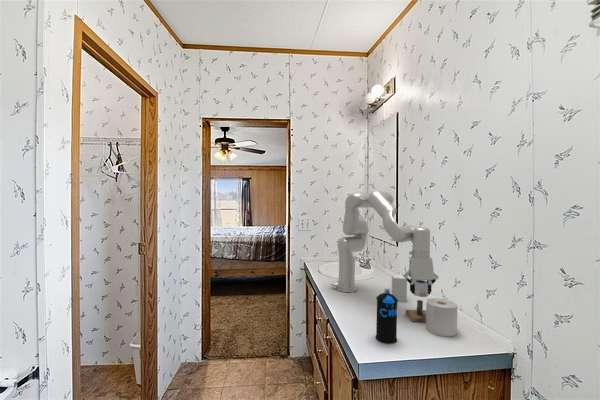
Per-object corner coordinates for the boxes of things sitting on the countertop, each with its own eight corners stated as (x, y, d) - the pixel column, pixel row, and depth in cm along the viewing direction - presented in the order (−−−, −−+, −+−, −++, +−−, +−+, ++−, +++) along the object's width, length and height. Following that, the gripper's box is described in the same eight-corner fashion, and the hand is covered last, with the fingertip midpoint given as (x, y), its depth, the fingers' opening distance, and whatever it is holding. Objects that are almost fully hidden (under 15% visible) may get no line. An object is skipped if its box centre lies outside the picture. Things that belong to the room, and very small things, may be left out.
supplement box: (406, 302, 162) (407, 278, 162) (392, 301, 163) (392, 277, 163) (405, 297, 169) (405, 275, 169) (391, 296, 171) (391, 274, 170)
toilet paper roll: (445, 323, 136) (446, 297, 135) (463, 336, 124) (464, 307, 124) (420, 324, 134) (420, 298, 134) (436, 337, 122) (436, 308, 122)
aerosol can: (372, 334, 124) (373, 285, 124) (392, 333, 125) (393, 285, 124) (379, 344, 116) (380, 291, 116) (400, 343, 117) (401, 291, 116)
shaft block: (411, 322, 136) (412, 304, 136) (405, 313, 146) (405, 297, 146) (434, 323, 136) (435, 305, 136) (426, 314, 146) (427, 297, 146)
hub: (415, 296, 138) (415, 283, 138) (411, 292, 144) (411, 279, 144) (430, 297, 137) (430, 283, 137) (425, 292, 144) (425, 279, 144)
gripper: (404, 255, 137) (403, 295, 138) (443, 256, 136) (443, 296, 136) (399, 252, 145) (399, 290, 145) (437, 253, 144) (436, 291, 144)
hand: (420, 292), depth 141 cm, fingers closed on hub, 6 cm apart
